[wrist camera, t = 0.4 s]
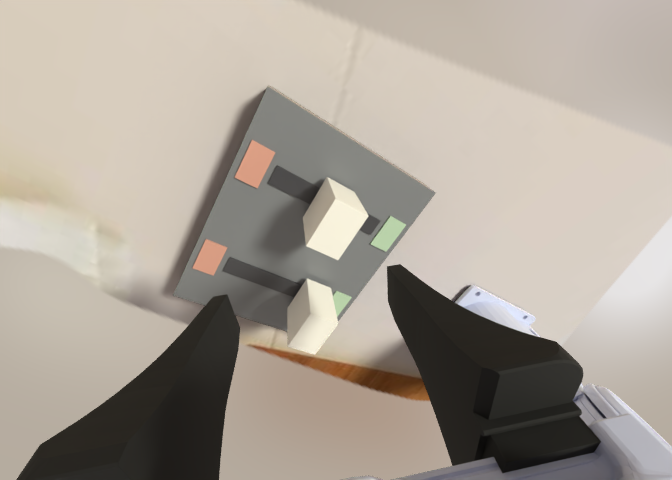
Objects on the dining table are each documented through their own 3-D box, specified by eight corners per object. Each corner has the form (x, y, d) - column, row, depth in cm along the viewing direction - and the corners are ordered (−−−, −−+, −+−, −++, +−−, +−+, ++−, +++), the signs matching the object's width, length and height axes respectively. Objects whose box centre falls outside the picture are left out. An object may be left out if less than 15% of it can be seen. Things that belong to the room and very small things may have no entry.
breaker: (330, 287, 21) (338, 323, 18) (310, 316, 22) (314, 354, 19) (307, 278, 21) (310, 313, 18) (287, 308, 22) (287, 346, 19)
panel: (423, 183, 21) (436, 193, 19) (319, 325, 26) (322, 343, 24) (269, 85, 17) (267, 86, 15) (181, 278, 22) (172, 296, 20)
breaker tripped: (354, 192, 18) (368, 215, 15) (329, 230, 19) (338, 260, 16) (327, 176, 17) (335, 198, 14) (302, 217, 18) (305, 246, 15)
